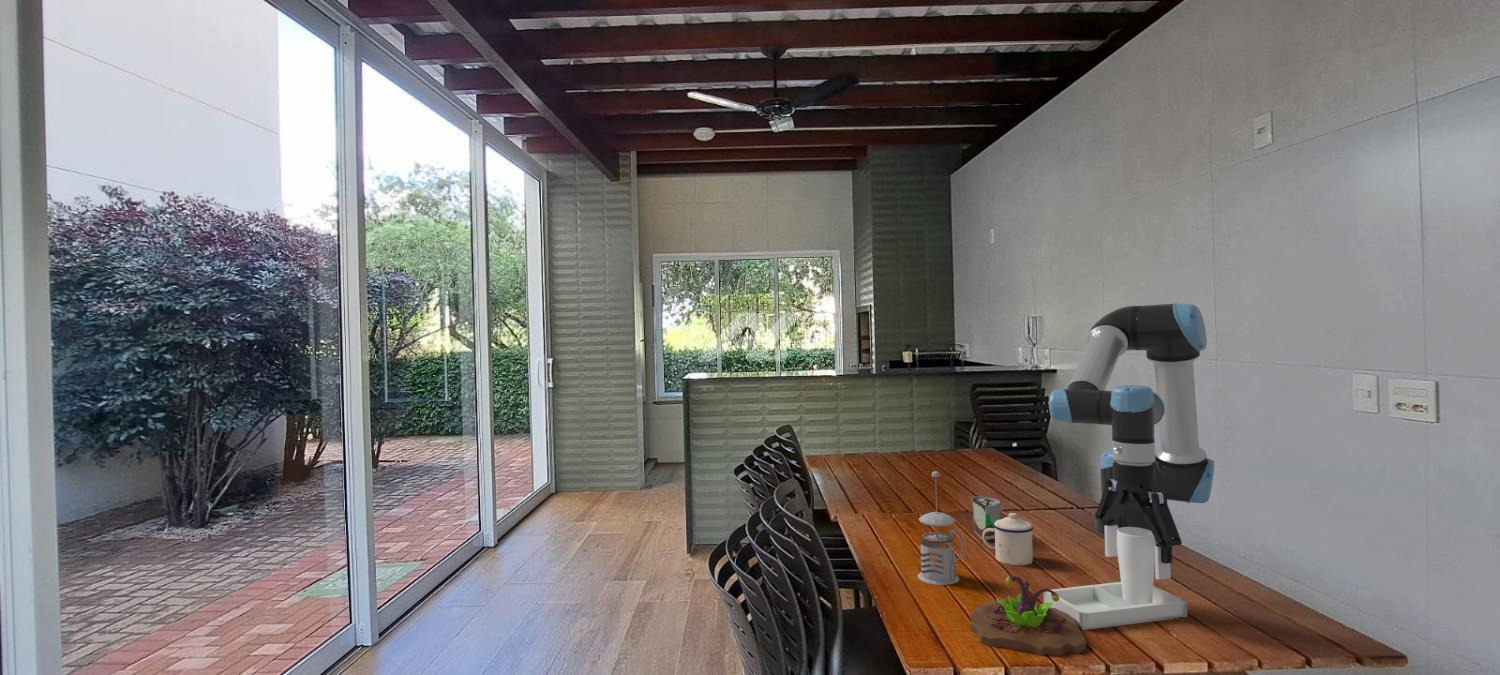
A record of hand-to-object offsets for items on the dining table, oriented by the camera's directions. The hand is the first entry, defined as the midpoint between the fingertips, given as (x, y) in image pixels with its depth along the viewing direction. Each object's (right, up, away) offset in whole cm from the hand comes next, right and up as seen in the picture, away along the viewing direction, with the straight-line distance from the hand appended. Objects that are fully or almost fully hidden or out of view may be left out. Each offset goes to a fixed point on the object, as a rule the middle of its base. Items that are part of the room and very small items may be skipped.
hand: (1136, 566), depth 135 cm
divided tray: (-5, -9, -1) cm, 10 cm away
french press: (-34, -10, +20) cm, 40 cm away
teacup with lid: (-14, -9, +32) cm, 36 cm away
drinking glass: (0, -8, 0) cm, 8 cm away
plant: (-26, -10, -9) cm, 29 cm away
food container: (-11, -9, +51) cm, 53 cm away
